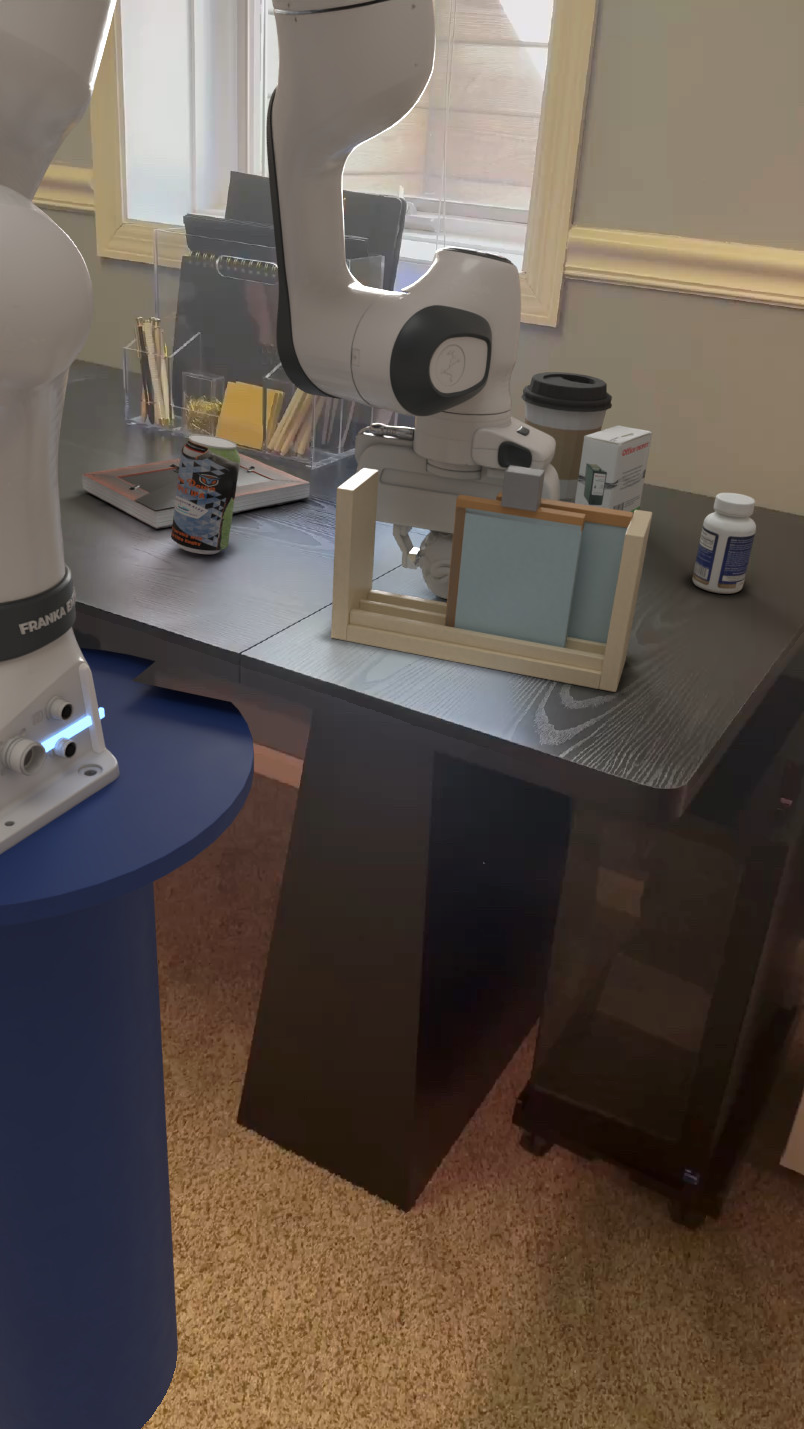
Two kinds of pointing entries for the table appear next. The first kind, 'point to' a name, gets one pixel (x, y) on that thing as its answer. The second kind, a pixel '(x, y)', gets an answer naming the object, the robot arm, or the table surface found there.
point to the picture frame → (155, 488)
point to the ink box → (613, 468)
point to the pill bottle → (725, 544)
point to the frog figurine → (436, 561)
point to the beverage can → (205, 494)
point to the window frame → (421, 630)
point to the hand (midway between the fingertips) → (448, 573)
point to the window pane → (514, 563)
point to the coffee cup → (566, 418)
